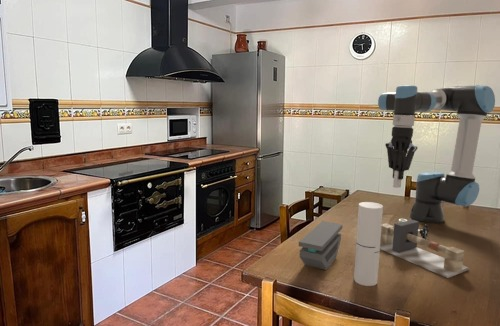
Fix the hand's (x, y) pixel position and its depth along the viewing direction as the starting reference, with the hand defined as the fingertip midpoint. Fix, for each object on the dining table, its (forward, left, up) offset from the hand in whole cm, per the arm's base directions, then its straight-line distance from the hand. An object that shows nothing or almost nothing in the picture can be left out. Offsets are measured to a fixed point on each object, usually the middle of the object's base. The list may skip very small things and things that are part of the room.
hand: (396, 187), depth 145 cm
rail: (+2, +12, -24) cm, 27 cm away
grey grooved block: (+36, -2, -24) cm, 43 cm away
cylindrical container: (+33, +16, -24) cm, 44 cm away
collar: (+2, +7, -23) cm, 24 cm away
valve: (-15, -3, -24) cm, 29 cm away
